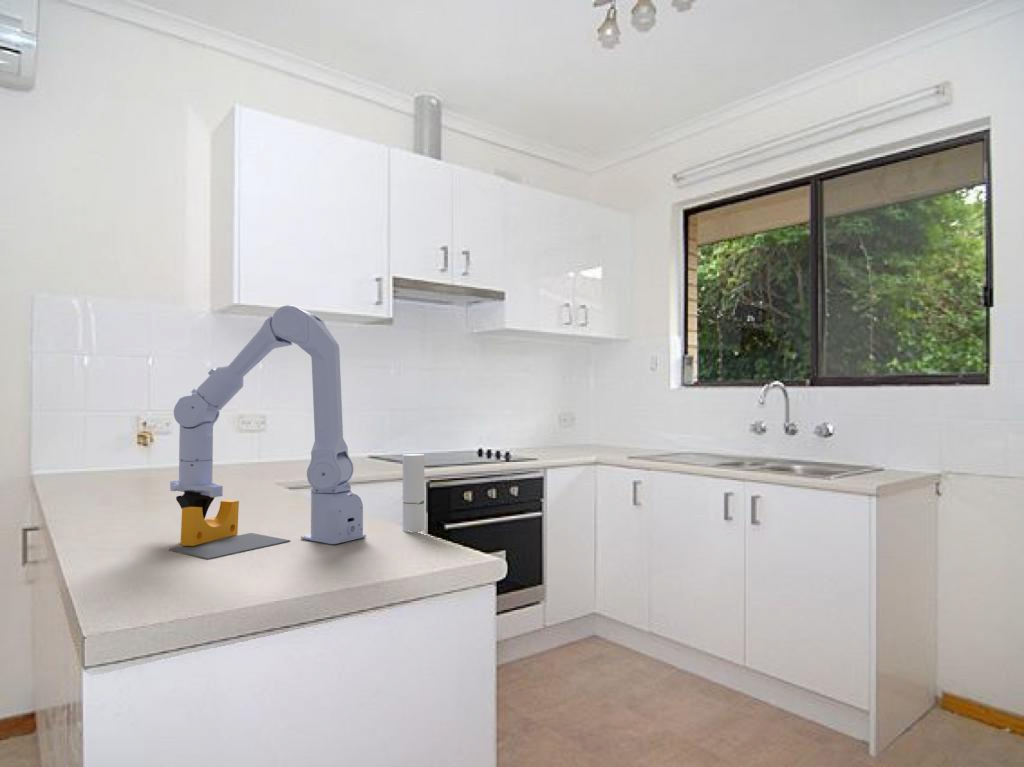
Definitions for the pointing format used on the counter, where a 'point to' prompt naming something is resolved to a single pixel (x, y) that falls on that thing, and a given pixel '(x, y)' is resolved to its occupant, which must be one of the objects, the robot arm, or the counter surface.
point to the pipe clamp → (209, 524)
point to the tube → (413, 492)
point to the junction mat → (229, 545)
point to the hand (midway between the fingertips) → (195, 532)
